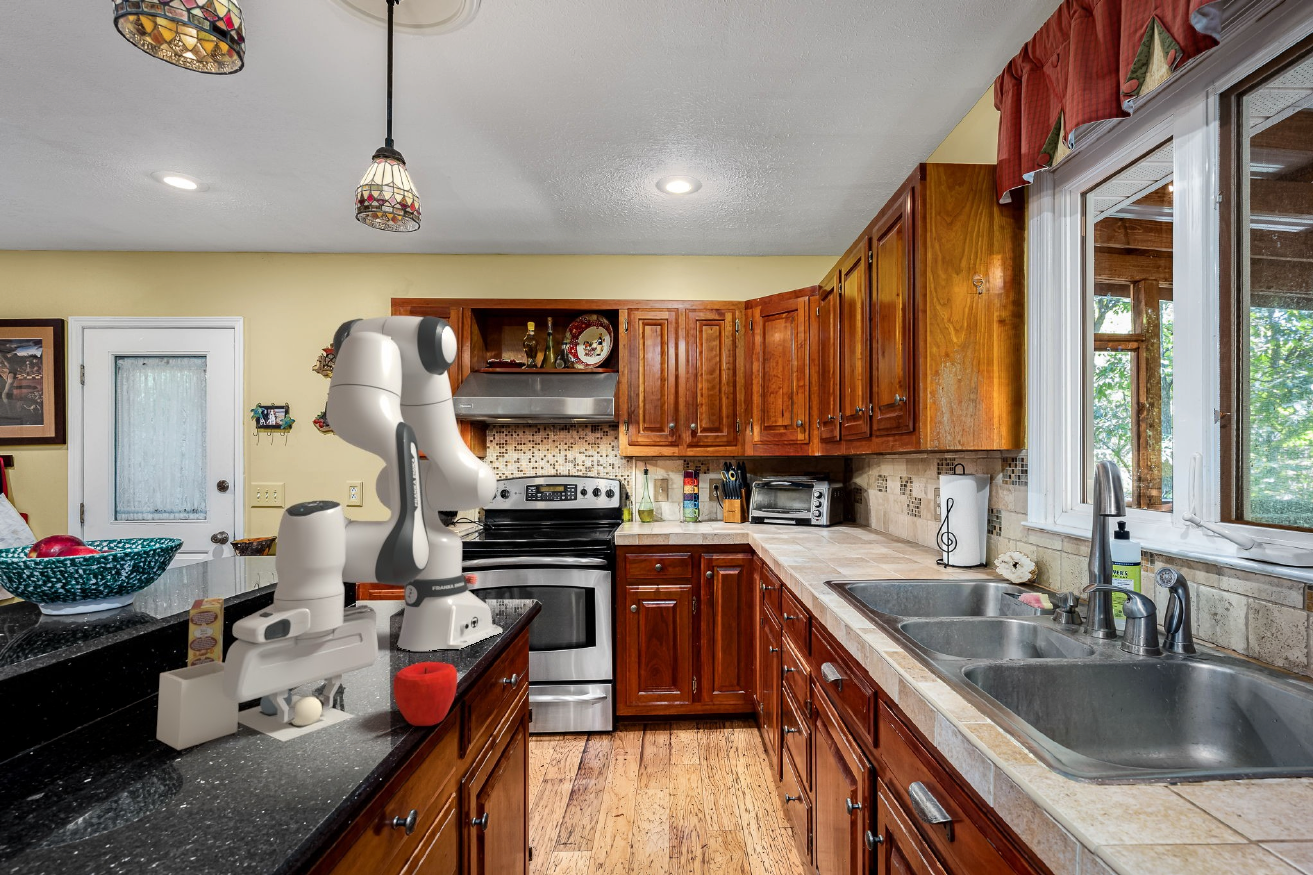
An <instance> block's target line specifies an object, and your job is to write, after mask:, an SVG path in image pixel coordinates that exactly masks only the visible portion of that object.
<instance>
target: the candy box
mask: <svg viewBox="0 0 1313 875" xmlns="http://www.w3.org/2000/svg"><path fill="white" fill-rule="evenodd" d="M224 600H225V597H223V596H222V597H221V596H220V597H212V598H211V597H210V598H201V599H195V600H194V602H193V603H192V605H191V608H190V609H189V615H188V616H189V620H188V647H187V648H188V650H187V667H191V666H196V665H200V664H205V663H209V662H213V661H220V662H223V641H224V640H223V638H224V636H223V635H224V632H223V631H224V603H225V601H224Z"/></svg>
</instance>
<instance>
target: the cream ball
mask: <svg viewBox="0 0 1313 875" xmlns="http://www.w3.org/2000/svg"><path fill="white" fill-rule="evenodd" d="M302 697H303V696H302ZM293 707H295V713H294V715H295V718H294V719H293V720H291V723H292V724H293V726H294V727H306V726H309V725H312V724H315V723H317V722H318V720H320V719H319V717H320V715H321V712H322V705H321V703H320V701H319V700H318V699H317V697H315V696H310V695H309V696H308V695H307V696H304V697H303V698H301V699H299V700H297V701H296V702H295V703H294V704H293Z"/></svg>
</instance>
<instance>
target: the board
mask: <svg viewBox="0 0 1313 875" xmlns="http://www.w3.org/2000/svg"><path fill="white" fill-rule="evenodd" d="M301 698H303V696H300V695H292V702H291V706H293V704H294V703H295V702H296V701H297V700H299V699H301ZM261 712H263V711H262V709H261V706H260V705H259V706H256V707H252V708H249V709H245V710H242V711H238V723H239V724H241V725H244V726H247V727H248V728H251V729H253V730H255V731H257V732H260V733H263V734H265V735H267V736H269V737H271V738H274V739H276V740H279V741H280V742H283V743H284V742H286V741H290V740H293V739H294V738H297V737H301V736H303V735H306V734H309V733H311V732H312V733H313V732H315V731H318V730H320V729H323V728H326V727H329V726H332V725H335V724H337V723H338V724H339V723H340V722H343V721H346V720H349V719H352V718H354V717H356V715H353V714H351V713H348V712H345V711H342V710H339V709H336V708H333V707H331V708H328V709H324V710H322V712H321V715H320V717H319V719H318V720H321V721H317V722H315V723H313V724H310V725H306V726H302V727H301V728H299V727H298V726H295V725H291V724H290V723H292V722H291V720H290V721H287V722H285V723H281V722H278V719H277V714H273V715H271V716H269V715H268V714H265V713H261Z"/></svg>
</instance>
